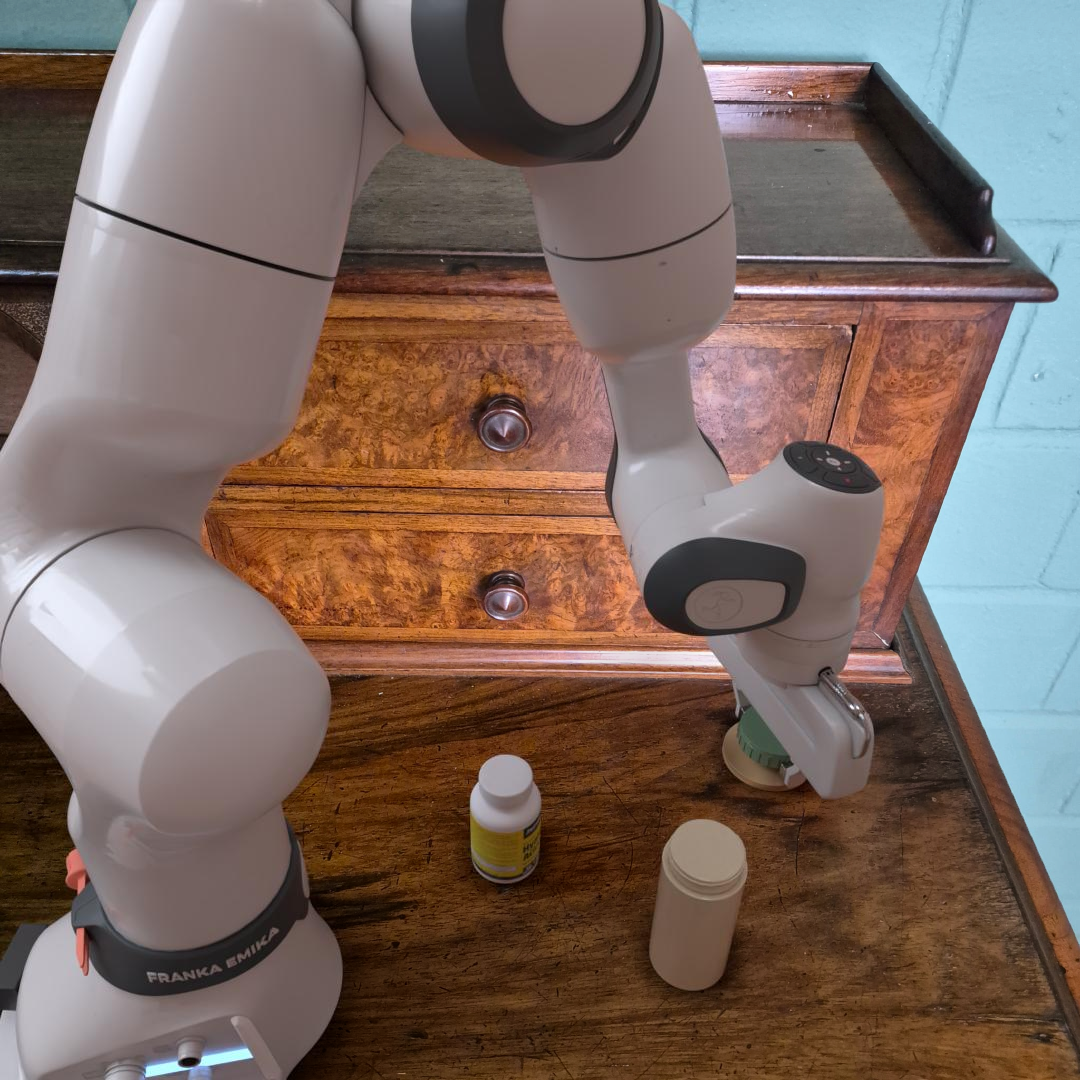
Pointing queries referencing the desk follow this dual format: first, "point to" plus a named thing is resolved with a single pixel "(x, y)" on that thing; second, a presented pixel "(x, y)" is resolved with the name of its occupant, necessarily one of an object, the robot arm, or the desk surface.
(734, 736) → the coaster
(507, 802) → the supplement bottle
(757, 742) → the jar lid
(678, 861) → the jar
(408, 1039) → the desk surface
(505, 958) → the desk surface
